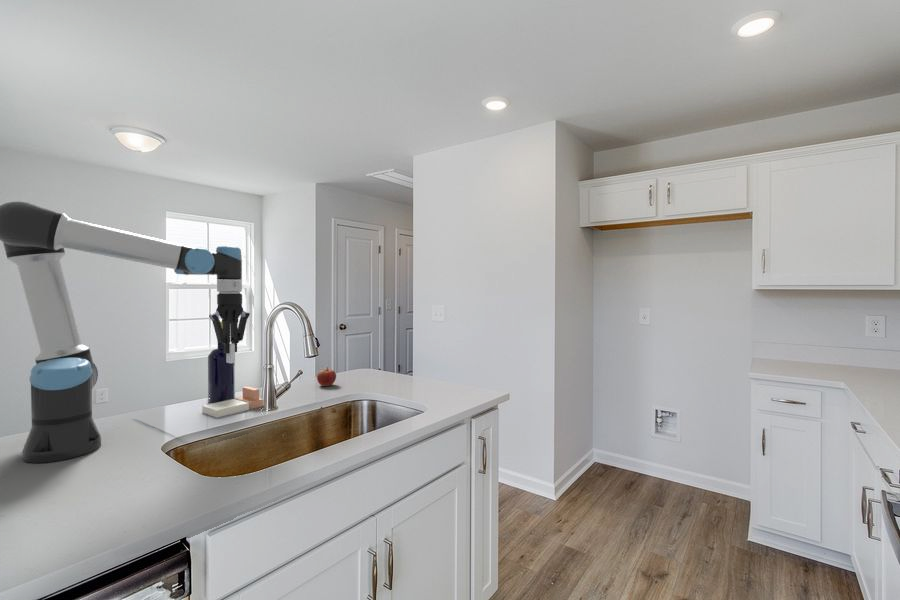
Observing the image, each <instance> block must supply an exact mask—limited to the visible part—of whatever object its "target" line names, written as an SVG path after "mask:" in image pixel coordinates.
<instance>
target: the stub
mask: <svg viewBox="0 0 900 600" xmlns="http://www.w3.org/2000/svg"><path fill="white" fill-rule="evenodd" d="M235 399H239V400H242V401H246V402H249V410H253V409H256V408H261V407H264V398H260V388H257V387H251V386H243V387H242V396H241V397H235Z"/></svg>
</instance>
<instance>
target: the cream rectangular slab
mask: <svg viewBox="0 0 900 600" xmlns="http://www.w3.org/2000/svg"><path fill="white" fill-rule="evenodd" d="M201 409H202V410H201V412H202V414H204V415H207V416H210V417H214V418H220V417H224V416H225V417H226V416H229V415H234V414H237V413H241V412H246V411H248V410H250V409H249V402H246V401H242V400H239V399H236V397H235V398H234V399H231V400H226V401H222V402H217V403H209V404H204V405H202V406H201Z"/></svg>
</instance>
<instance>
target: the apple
mask: <svg viewBox="0 0 900 600" xmlns="http://www.w3.org/2000/svg"><path fill="white" fill-rule="evenodd" d="M336 379H337V373H336V372H335V370H333V369H331V368H330V369H329V367H326V368H325V369H321V370H319V371H318V373H317V376H316V380H317V382H318V383H317V384H319V385H320V386H322V387H326V386H327V387H330V386H333V385H334V383H335V381H336Z"/></svg>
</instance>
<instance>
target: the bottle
mask: <svg viewBox="0 0 900 600" xmlns="http://www.w3.org/2000/svg"><path fill="white" fill-rule="evenodd" d="M220 323H221V327H222V331H223V323H222V320H221V321H220ZM216 340H217V339H216ZM216 342H217V348H215V349H213V350H211V351H210V353H209V354H208V356H207V368H208V369H207V387H208V388H207V397H208V398H207V402H208V403H209V404H212V403H217V402H222V401H226V400H231V399H234V398H235V399H236V362H235V363H226V353H224V344H223V343H221V342H218V340H217V341H216ZM209 398H210V399H209Z"/></svg>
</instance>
